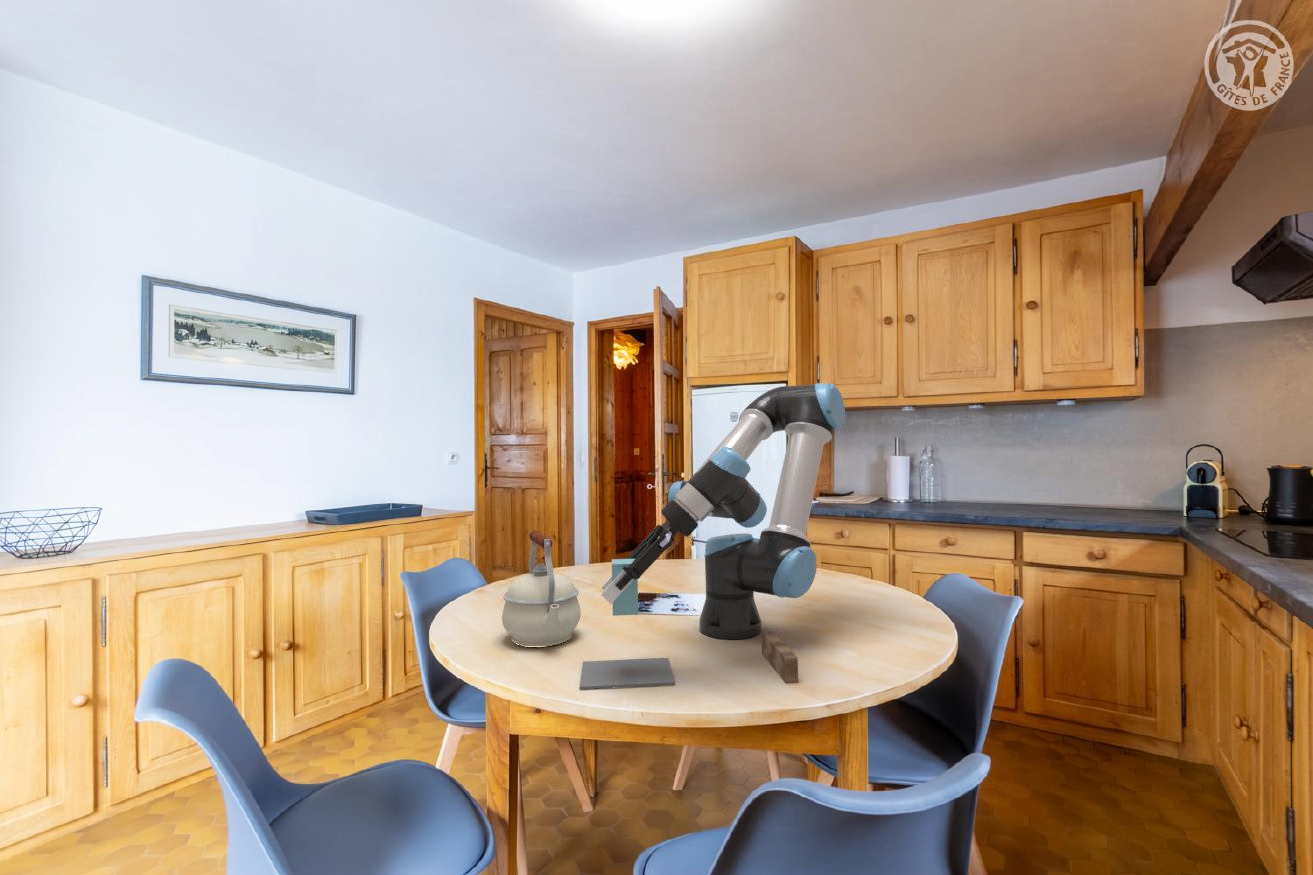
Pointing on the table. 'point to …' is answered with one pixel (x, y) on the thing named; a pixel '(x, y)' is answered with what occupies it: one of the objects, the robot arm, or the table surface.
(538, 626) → the kettle
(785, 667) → the rail
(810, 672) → the table surface
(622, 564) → the block
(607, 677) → the mat
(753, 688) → the table surface
